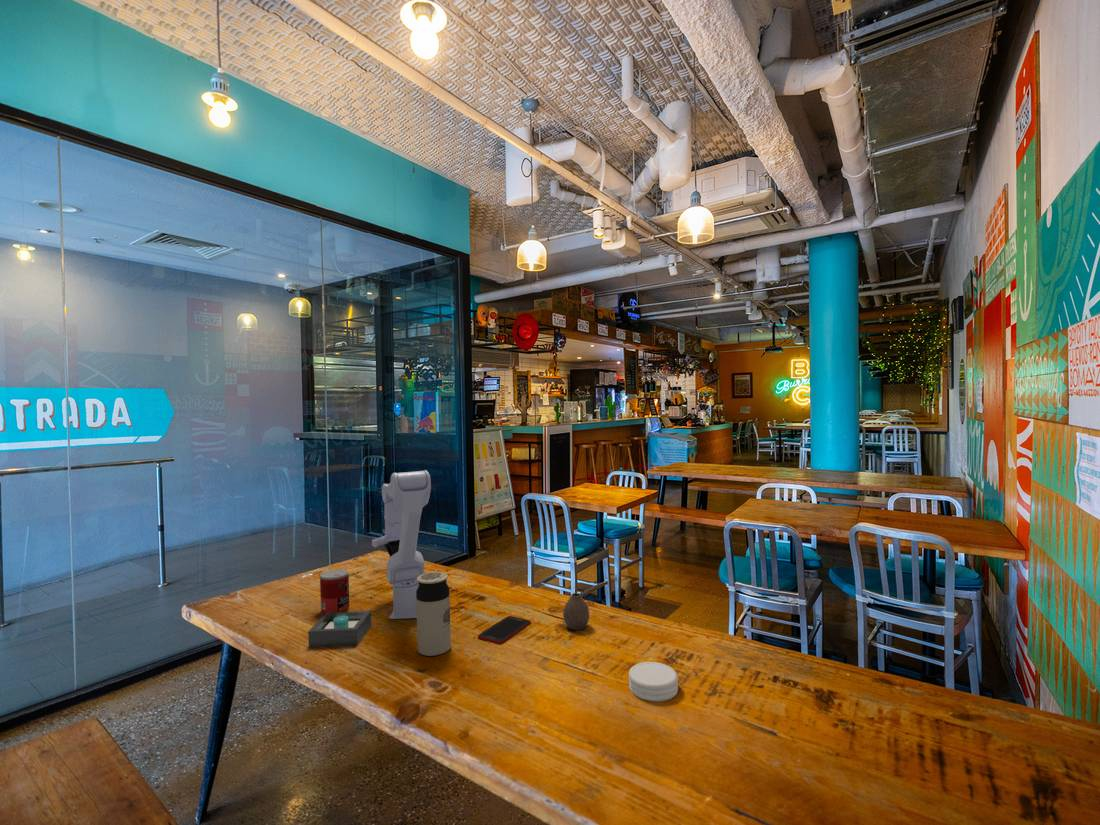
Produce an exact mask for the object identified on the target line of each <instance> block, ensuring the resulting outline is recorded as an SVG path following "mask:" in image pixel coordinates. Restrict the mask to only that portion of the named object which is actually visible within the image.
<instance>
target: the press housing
mask: <svg viewBox="0 0 1100 825" xmlns="http://www.w3.org/2000/svg"><path fill="white" fill-rule="evenodd" d="M338 616H348V621H356V620H359V621H358V623H357V624H356V625H355V626H354V628H335V629H324V628H325V627H326V626H327V625H328V624H329V623H330V622H332V621H334V618H336V617H338ZM371 626H372V610H357V611H356V610H355V611H353V610H352V611H345V612H327V613H326V614H323V616H322V617H320V619H319V620H318V621H317V622H316V623H315V624H314V625H313V626H312V627H311V628H310V629H309V630H308V632H307V636H308V638H307V640H308V648H325V647H326V648H328V647H329V648H330V647H348V646H350V647H351V646H358V644H360V642H362V639H363V637H364V636H365V634H367V632H368V631H369V629H370V628H371Z"/></svg>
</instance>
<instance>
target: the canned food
mask: <svg viewBox="0 0 1100 825" xmlns="http://www.w3.org/2000/svg"><path fill="white" fill-rule="evenodd" d="M349 577H350V576H349V571H348V570H346V569H341V568H339V569H330V570H326V571H324V572H322V573H321V574H320V575H319V588H320V589H319V590H320V611H321V613H322V614H323V615H325V614H326V613H327V612H348V610H349V609H350V578H349Z"/></svg>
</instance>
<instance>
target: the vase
mask: <svg viewBox="0 0 1100 825" xmlns="http://www.w3.org/2000/svg"><path fill="white" fill-rule="evenodd" d="M589 609H590V608H589V607H588V603H587V602H586V601H585V600H584V599H583V597H582V596H581V594H580V593H578V592H574V593H572V594H571V595H570V597H569V599H567V601H566V602H565V605H564V608H563V611H562V612H563V613H562V615H563V616H562V617H563V621H564V623H565V625H566V627H567V628H568V629H569V630H572V631H581V630H584V629H585V628H586V627H587V625H588V623H589V620H590V610H589Z"/></svg>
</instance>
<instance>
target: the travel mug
mask: <svg viewBox="0 0 1100 825" xmlns="http://www.w3.org/2000/svg"><path fill="white" fill-rule="evenodd" d="M448 578H449V576H448V573H446V572H442V571H431V572H429V571H428V572H424V574H422V575H420V576H418V577H417V581H418V584H419V586H418V588H417V590H416V605H417V618H416V633H417V637H416V638H417V652H418V653H419V654H420V655H423V656H428V657H435V656H440V655H443V654H445V653H447V652H448V651H449V650H450V649H451V647H452V644H451V643H452V642H451V641H452V638H451V636H452V635H451V634H452V633H451V632H452V631H451V604H450V587H449V584H448V582H447V581H448V580H447V579H448Z"/></svg>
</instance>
